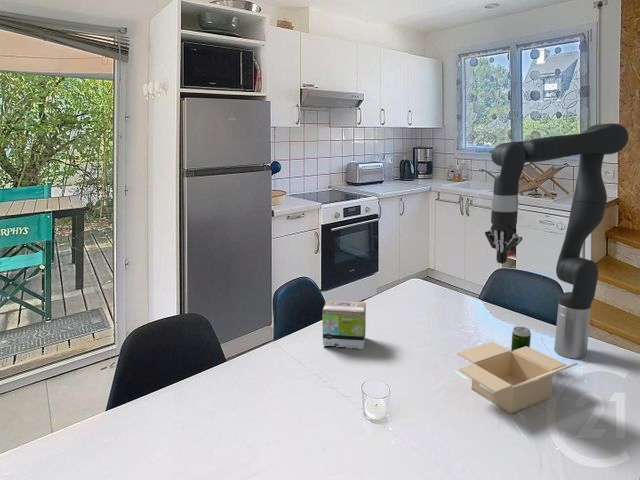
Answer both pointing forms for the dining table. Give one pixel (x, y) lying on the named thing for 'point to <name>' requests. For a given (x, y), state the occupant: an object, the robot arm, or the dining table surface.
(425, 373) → the dining table surface
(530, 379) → the flap
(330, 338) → the tea box
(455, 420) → the dining table surface
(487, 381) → the carton
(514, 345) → the beer can
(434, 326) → the dining table surface
